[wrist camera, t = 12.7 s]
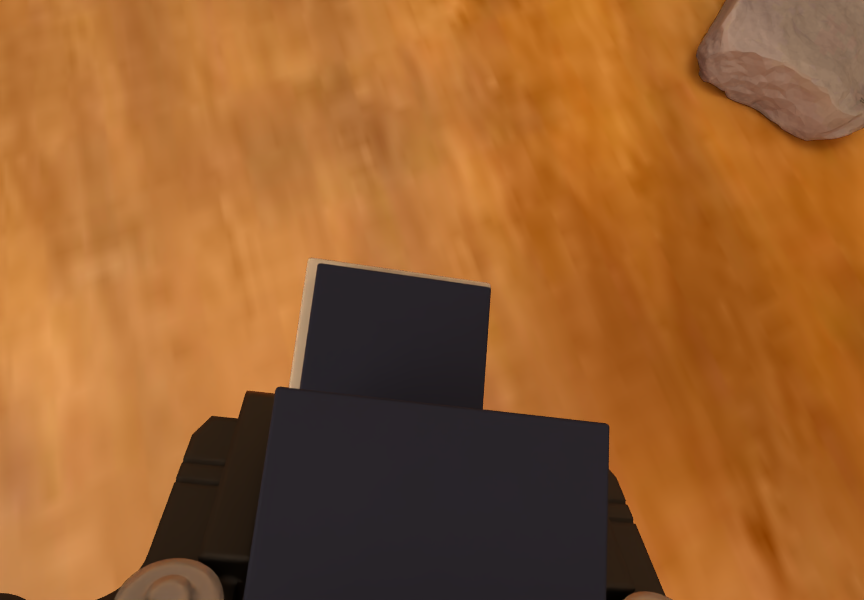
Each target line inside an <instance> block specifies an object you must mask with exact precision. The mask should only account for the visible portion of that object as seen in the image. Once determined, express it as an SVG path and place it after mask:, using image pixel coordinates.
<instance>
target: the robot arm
mask: <svg viewBox="0 0 864 600" xmlns="http://www.w3.org/2000/svg"><path fill="white" fill-rule="evenodd" d="M274 396H275V394H273V393H264V392H255V391H247V392H246V394H245V397H244V400H243V404H242V407H241V411H240V414H239V417H238V419H236V418H227V417H217V416H211V417H210V418H209V419H208V420H207V421H206V422H205V423H204V424H203V425H202V426H201V427H200V428H199V429H198V430H197V431H196V432H195V433H194V434H193V435H192V437H191V439H190V442H189V445H188V448H187V450H186V453H185V456H184V459H183V463H182V464H181V466H180V469H179V472H178V475H177V477H176V482H175V483H174V485H173V488H172V491H171V493H170V496H169V499H168V502H167V504H166V507H165V510H164V512H163V515H162V518H161V520H160V523H159V526H158V528H157V531H156V534H155V537H154V539H153V542H152V545H151V547H150V550H149V553H148V555H147V557H146V560H145V562H144V563H143V565H142V566H141V568H140V569H139V570H138V571H137V572H136V573H134V574H133V575H132V576H131V577H130V578H128V579H127V580H126V581H125V583H124V584H123V585H122V586H121V587H120V588H119V589H117V590H116V591H114V592H112V593H110V594H108V595H107V596H105V597H102V598H100V599H97V600H243V596H244V590H245V583H246V577H247V570H248V564H249V558H250V551H251V545H252V538H253V532H254V525H255V519H256V512H257V506H258V500H259V493H260V487H261V480H262V474H263V467H264V461H265V454H266V448H267V442H268V435H269V429H270V422H271V416H272V409H273V403H274ZM625 501H626V500H625V498H624V495H623V493H622V490H621V488H620V486H619V483H618V481H617V478H616V477H615V476H614V475H613V473H612V472H611V471H610V470H608V527H607V583H606V600H672V599H670V598H668V597H666V596H665V593H664V591H663V589H662V586H661V584H660V582H659V579H658V577H657V574H656V572H655V570H654V567H653V565H652V562H651V560H650V558H649V555H648V553H647V550H646V548H645V546H644V543H643V541H642V538H641V536H640V534H639V531H638V529H637V526H636V524H633V517H632V514H631V512H630V510H629V507H628V505H626V504H625ZM0 600H25V599H23V598H21V597H19V596H16V595H12V594H6V593H0Z"/></svg>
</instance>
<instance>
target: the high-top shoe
mask: <svg viewBox="0 0 864 600" xmlns="http://www.w3.org/2000/svg"><path fill="white" fill-rule="evenodd" d="M490 295H491V286H490V284H489V283H485V282H478V281H471V280H464V279H457V278H450V277H443V276H436V275H429V274H422V273H415V272H408V271H401V270H394V269H387V268H380V267H373V266H366V265H359V264H352V263H345V262H338V261H331V260H324V259H317V258H309V259H308V262H307V269H306V276H305V282H304V289H303V296H302V302H301V309H300V316H299V322H298V329H297V336H296V342H295V349H294V356H293V362H292V369H291V376H290V382H289V388H287V387H277V389H276V390H275V396H274V403H273V409H272V416H271V422H270V429H269V435H268V442H267V448H266V454H265V461H264V467H263V474H262V480H261V487H260V493H259V500H258V506H257V512H256V519H255V525H254V532H253V538H252V545H251V551H250V558H249V564H248V570H247V577H246V583H245V590H244V596H243V600H606V583H607V527H608V470H609V425H608V424H606V423H598V422H589V421H580V420H571V419H563V418H554V417H545V416H536V415H527V414H518V413H509V412H500V411H492V410H483V396H484V382H485V367H486V353H487V339H488V324H489V310H490Z"/></svg>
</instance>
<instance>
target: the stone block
mask: <svg viewBox="0 0 864 600" xmlns="http://www.w3.org/2000/svg"><path fill="white" fill-rule="evenodd" d="M696 57H697V59H698V63H699V67H700V71H699V76H700V77H701V79H702V80H703V81H705V82H709V83H711V84H713V85H715V86H716V87H718V88H719V89H720V90H723V91H725V94H726V96H727V97H728V98H730V99H732V100H734V101H736V102H739V103H742V104H745V105H748V106H750V107H752V108H754V109H756V110H758V111H760V112H761V113H762V114H763V115H765V116H766V117H767V118H768V119H770V120H771V121H773V122H775V123H776V124H778V125H779V126H780V127H781V129H783V130H785V131H787V132H789V133H790V134H792V135H794V136H796V137H798V138H801V139H803V140H806V141H809V140H823V139H835V138H840V137H843V136H847V135H850V134H851V133H853V132H855V131H857V130H859V129H862V128H864V0H726V1H725V3H724V5H723V7H722V8H721V10H720V12H719V14H718V16H717V17H716V19H715V21H714V22H713V24H712V25H711V27H710V28H709V30H708V33H707V34H706V35H705V37H704V39H703V40H702V42H701V44H700V45H699V47H698V50H697V54H696Z"/></svg>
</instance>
